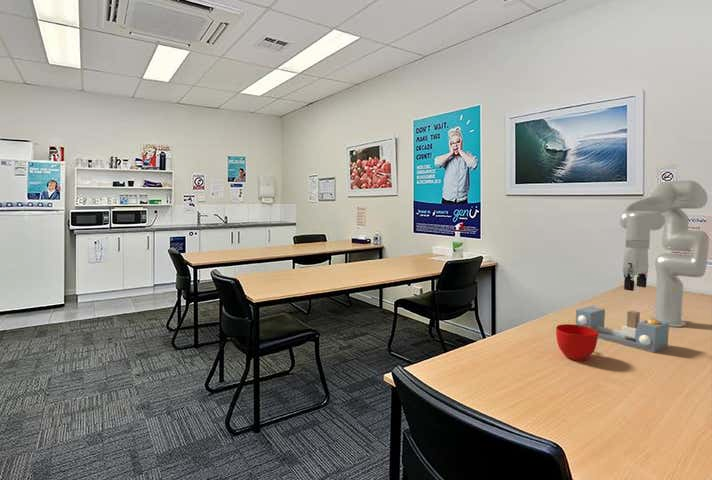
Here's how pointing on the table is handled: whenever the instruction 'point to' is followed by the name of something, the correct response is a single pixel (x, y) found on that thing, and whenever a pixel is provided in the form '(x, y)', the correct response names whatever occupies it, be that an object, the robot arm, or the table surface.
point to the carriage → (631, 325)
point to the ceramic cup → (576, 341)
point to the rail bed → (646, 336)
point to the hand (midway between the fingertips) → (635, 288)
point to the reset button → (653, 321)
